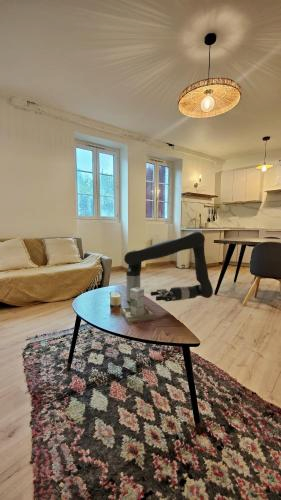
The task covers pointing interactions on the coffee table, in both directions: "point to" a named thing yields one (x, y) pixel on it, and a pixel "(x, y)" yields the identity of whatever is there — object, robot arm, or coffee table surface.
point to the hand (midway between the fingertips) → (153, 296)
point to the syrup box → (136, 301)
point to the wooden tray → (139, 318)
